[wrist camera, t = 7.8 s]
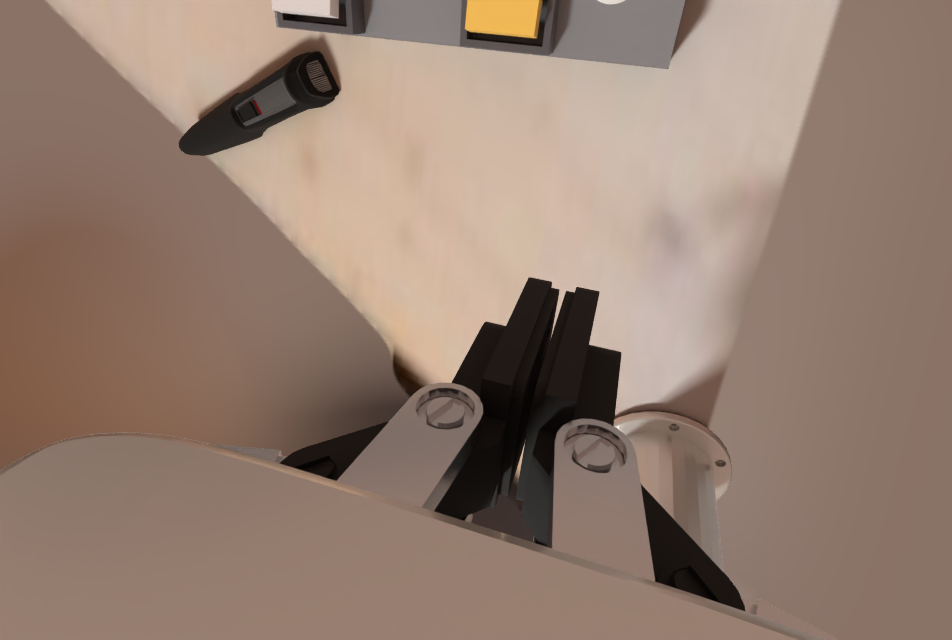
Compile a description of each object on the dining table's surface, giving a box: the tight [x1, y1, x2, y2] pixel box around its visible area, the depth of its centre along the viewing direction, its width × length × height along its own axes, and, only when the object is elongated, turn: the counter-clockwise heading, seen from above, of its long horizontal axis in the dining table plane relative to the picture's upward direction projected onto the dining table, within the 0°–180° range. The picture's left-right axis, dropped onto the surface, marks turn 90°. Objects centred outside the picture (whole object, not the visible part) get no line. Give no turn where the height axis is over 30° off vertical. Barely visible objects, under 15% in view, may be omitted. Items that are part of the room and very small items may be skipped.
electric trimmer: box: [179, 52, 339, 156], centre depth 41 cm, size 4×16×3 cm, turn 113°
